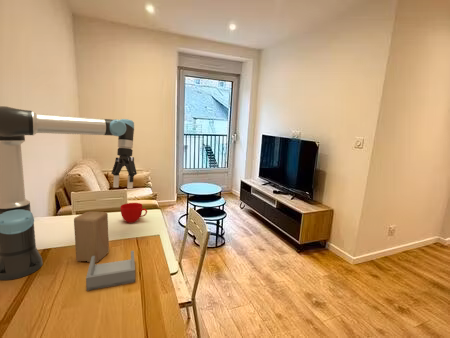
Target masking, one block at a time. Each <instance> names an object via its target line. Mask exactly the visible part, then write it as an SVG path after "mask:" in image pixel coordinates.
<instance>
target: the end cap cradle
mask: <svg viewBox="0 0 450 338" xmlns="http://www.w3.org/2000/svg"><path fill="white" fill-rule="evenodd" d="M85 276H86V277H85V282H86V283H85V284H86V287H85V288H86V291H87V292H89V291H94V290H98V288H100V289H105V287H106V288H111V287H115V286H116V287H117V286H122V285H126V284H133V283H136V263H135V251H134V250H130V259H124V260H118V261H110V262H103V263H98V264H97V263H95V256H92V257H91V261H90V262H89V265H88V269H87V274H86V275H85ZM121 284H122V285H121ZM93 289H94V290H93ZM88 290H89V291H88Z"/></svg>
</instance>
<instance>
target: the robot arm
mask: <svg viewBox="0 0 450 338" xmlns="http://www.w3.org/2000/svg"><path fill="white" fill-rule="evenodd" d="M134 132H135V122H134V121H133V120H131V119H129V118H128V119H127V118H121V119H117V118H116V119H111V118H99V117H98V118H96V117H85V116H71V115H70V116H69V115H58V114H48V113H47V114H44V113H36V112H34V111H33V110H27V109H19V108H15V107H9V106H1V105H0V280H1V281H9V280H16V279H19V278H23V277H26V276H29V275H31V274H33V273H35V272H37V271H38V270H40V269H41V268H40V267H42V266H43V263H44V262H43V258H42V255H41V254H40V252H39V250H38V249H37V245H36V243H37V242H36V234H35V233H36V232H35V217H34V214H33V213H32V211H31V202H30V200H28V199H26V193H25V179H24V168H23V167H24V165H23V157H22V156H23V155H22V144H23V143H24V142H26V139H25V138H26V137H25V136H35V135H36V134H55V135H56V134H58V135H60V134H61V135H84V136H85V135H89V136H91V135H92V136H93V135H94V136H113V137H118V138H117V151H116V154H117V156H119V157H115V161H114V165H113V166H112V167H113V168H112V170H111V175H113V183H112V184H113V185H112V187H113V188H120V187H119V184H120V173H121V171H122V169H123V168H124V167H125V169H126V171H127V173H128V175H127V183H126V184H127V187H126V188H127V190H128V189H129V190H130V189H131V190H132V189H133V188H134V177H135V176H136V175H138V174H137V169H136V168H137V167H136V164H135V157H132V156H133V147H134V134H135V133H134Z"/></svg>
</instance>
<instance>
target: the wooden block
mask: <svg viewBox="0 0 450 338" xmlns="http://www.w3.org/2000/svg"><path fill="white" fill-rule="evenodd" d="M73 225H74V226H73V227H74V230H73V231H74V241H75V242H74V244H75V260H76V261H77V262H81V261H87V262H86V263H90V261H91V257H92V256H95V262H96V263H98V262H99V260H100V261H101V260H102V259H103V258H105V256H107V255H108V254H109V252H110V248H109V245H110V244H109V217H108V212H106V211H105V212H104V211H93V210H92V211H85V212H84V213H82V214H79V215H77V216H75V217H74V218H73ZM107 253H108V254H107ZM106 254H107V255H106Z"/></svg>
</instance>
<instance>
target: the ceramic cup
mask: <svg viewBox="0 0 450 338" xmlns="http://www.w3.org/2000/svg"><path fill="white" fill-rule="evenodd" d="M119 207H120V209H119V210H120V214H121V216H122V218H123V220H124V221H125V222H126V223H128V224H131V223H132V224H133V223H136V222H138V221H139V219H141V218H143V217H145V216H146V215H147V213H148V210H147V208H143V204H142V203H140V202H139V203H138V202H128V203H127V202H126V203H123V204H121V205H120V206H119ZM143 211H145V213H144V214H142V213H143Z"/></svg>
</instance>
